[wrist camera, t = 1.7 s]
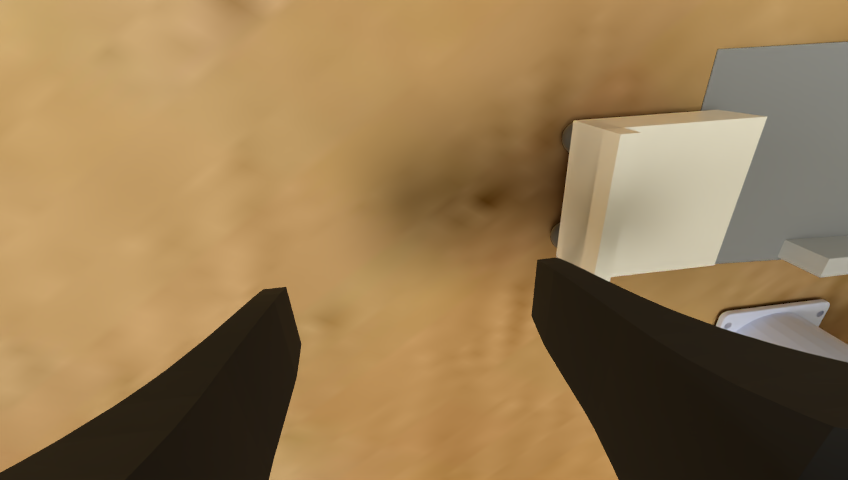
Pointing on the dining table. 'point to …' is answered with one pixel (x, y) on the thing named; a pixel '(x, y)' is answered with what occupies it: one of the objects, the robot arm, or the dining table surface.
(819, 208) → the dock
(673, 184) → the cream notched block
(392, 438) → the dining table surface
